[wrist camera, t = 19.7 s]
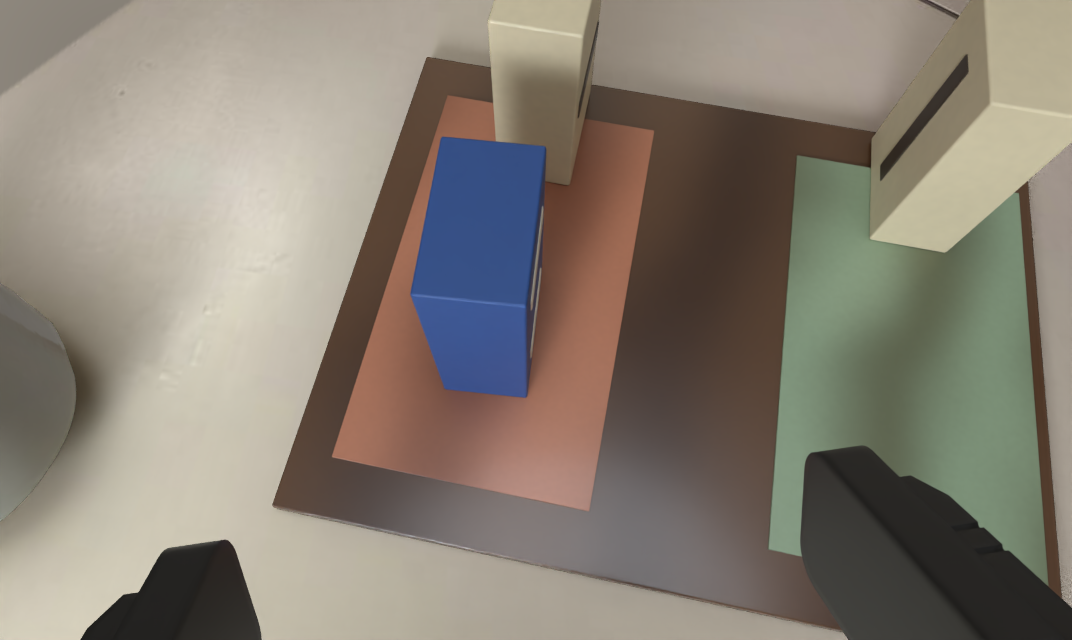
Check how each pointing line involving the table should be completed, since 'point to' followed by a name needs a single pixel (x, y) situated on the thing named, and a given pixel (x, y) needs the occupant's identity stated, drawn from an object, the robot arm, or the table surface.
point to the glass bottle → (30, 398)
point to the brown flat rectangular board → (684, 359)
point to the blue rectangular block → (482, 264)
